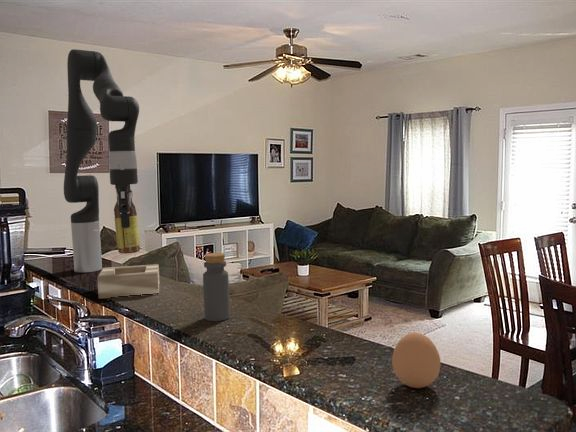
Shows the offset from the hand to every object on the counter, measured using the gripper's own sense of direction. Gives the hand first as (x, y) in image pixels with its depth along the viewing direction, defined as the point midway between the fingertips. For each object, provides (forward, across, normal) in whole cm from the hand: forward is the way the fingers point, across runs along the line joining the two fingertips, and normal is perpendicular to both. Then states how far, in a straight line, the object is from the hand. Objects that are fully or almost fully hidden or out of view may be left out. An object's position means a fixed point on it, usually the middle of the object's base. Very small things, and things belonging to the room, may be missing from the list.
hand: (126, 226), depth 154 cm
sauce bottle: (+8, 0, 0) cm, 8 cm away
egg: (+19, +84, +49) cm, 99 cm away
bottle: (+19, +36, +22) cm, 46 cm away
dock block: (+19, 0, 0) cm, 19 cm away
